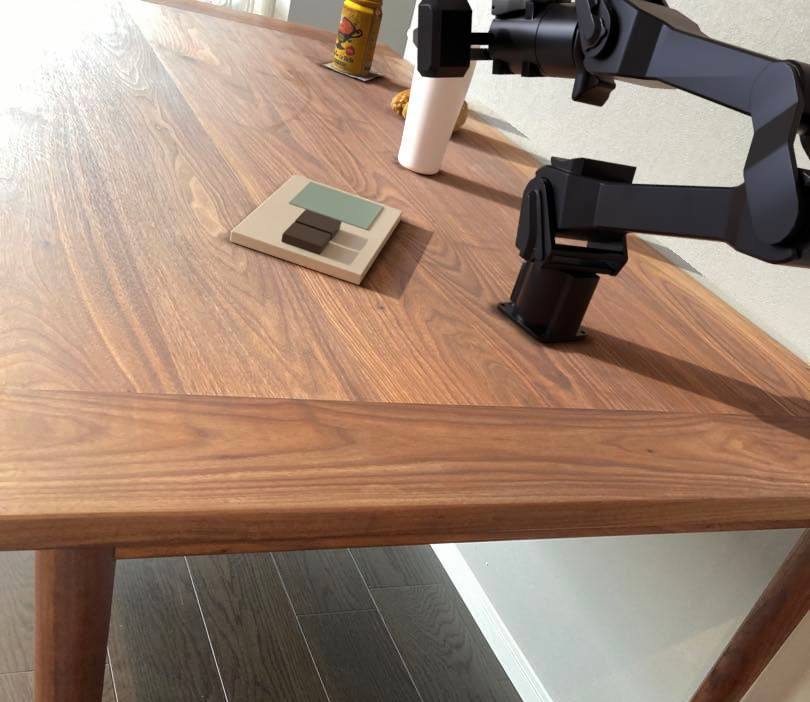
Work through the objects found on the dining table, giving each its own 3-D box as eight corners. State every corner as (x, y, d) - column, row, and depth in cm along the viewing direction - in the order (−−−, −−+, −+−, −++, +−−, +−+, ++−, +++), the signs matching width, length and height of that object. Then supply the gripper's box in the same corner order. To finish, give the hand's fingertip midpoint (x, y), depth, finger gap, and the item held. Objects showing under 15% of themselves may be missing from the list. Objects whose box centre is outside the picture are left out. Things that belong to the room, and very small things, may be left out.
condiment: (321, 65, 141) (338, -22, 134) (342, 60, 148) (360, -23, 141) (363, 82, 140) (383, -5, 133) (383, 76, 147) (403, -7, 140)
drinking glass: (439, 183, 110) (477, 49, 102) (385, 165, 110) (419, 29, 101) (447, 170, 116) (485, 41, 107) (397, 152, 116) (430, 22, 107)
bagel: (401, 104, 136) (410, 70, 133) (469, 131, 135) (480, 96, 132) (378, 114, 128) (387, 78, 125) (450, 142, 127) (461, 106, 124)
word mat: (358, 285, 81) (363, 266, 80) (229, 241, 81) (232, 221, 80) (400, 220, 97) (405, 203, 96) (292, 183, 97) (296, 166, 96)
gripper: (647, -64, 80) (530, -55, 92) (480, -78, 71) (372, -67, 82) (630, 78, 86) (521, 70, 97) (472, 82, 77) (372, 72, 88)
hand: (452, 36), depth 91 cm, fingers open, 9 cm apart
